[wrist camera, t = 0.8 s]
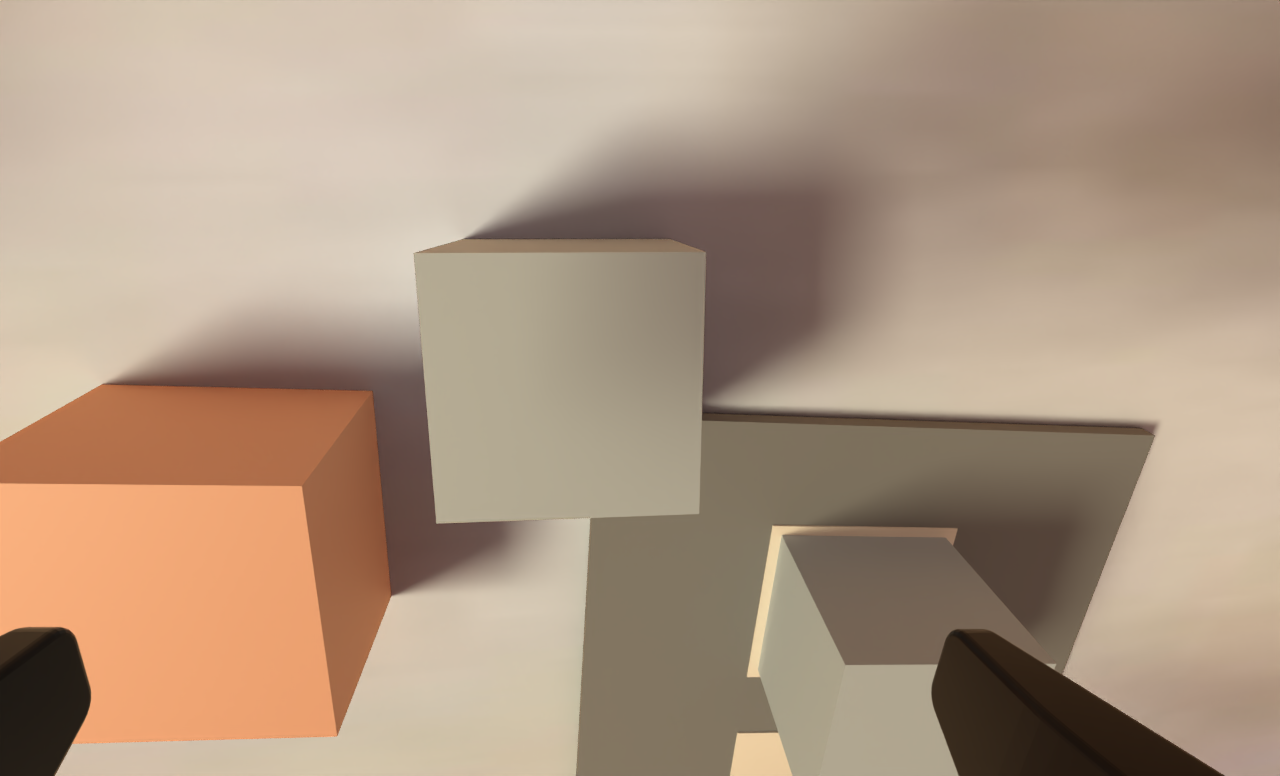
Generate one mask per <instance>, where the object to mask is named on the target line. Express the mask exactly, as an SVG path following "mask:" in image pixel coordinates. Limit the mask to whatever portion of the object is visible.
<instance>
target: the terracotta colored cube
mask: <svg viewBox="0 0 1280 776" xmlns="http://www.w3.org/2000/svg"><path fill="white" fill-rule="evenodd" d="M390 598H391V588H390V577H389V566H388V555H387V544H386V533H385V522H384V511H383V500H382V489H381V478H380V467H379V456H378V445H377V434H376V423H375V412H374V401H373V391H358V390H316V389H274V388H231V387H189V386H147V385H105V384H102V385H100V386H98V387H97V388H95V389H93V390H91V391H89V392H88V393H86V394H84V395H82V396H81V397H79V398H77V399H75V400H74V401H72V402H70V403H68V404H66V405H65V406H63V407H61V408H59V409H58V410H56V411H54V412H52V413H51V414H49V415H47V416H45V417H43V418H42V419H40V420H38V421H36V422H35V423H33V424H31V425H29V426H28V427H26V428H24V429H22V430H20V431H19V432H17V433H15V434H13V435H12V436H10V437H8V438H6V439H5V440H3V441H1V442H0V636H1V635H3V634H5V633H7V632H9V631H12V630H14V629H18V628H23V627H63V628H66V629H69V630H70V631H71V632H72V633H73V634H74V635H75V637H76V639H77V642H78V645H79V649H80V652H81V656H82V659H83V663H84V666H85V670H86V673H87V677H88V680H89V684H90V687H91V703H90V708H89V711H88V714H87V716H86V719H85V721H84V723H83V725H82V726H81V728H80V730H79V732H78V734H77V736H76V737H75V739H74V741H73V743H72V744H78V743H114V742H151V741H187V740H223V739H259V738H295V737H331V736H337V735H338V733H339V730H340V728H341V725H342V722H343V720H344V717H345V715H346V712H347V709H348V707H349V704H350V702H351V699H352V696H353V694H354V691H355V689H356V686H357V683H358V681H359V678H360V676H361V673H362V671H363V668H364V665H365V663H366V660H367V658H368V655H369V652H370V650H371V647H372V645H373V642H374V639H375V637H376V634H377V632H378V629H379V627H380V624H381V621H382V619H383V616H384V614H385V611H386V608H387V606H388V603H389V601H390Z"/></svg>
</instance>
